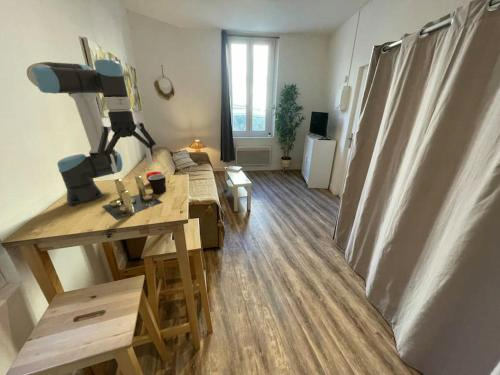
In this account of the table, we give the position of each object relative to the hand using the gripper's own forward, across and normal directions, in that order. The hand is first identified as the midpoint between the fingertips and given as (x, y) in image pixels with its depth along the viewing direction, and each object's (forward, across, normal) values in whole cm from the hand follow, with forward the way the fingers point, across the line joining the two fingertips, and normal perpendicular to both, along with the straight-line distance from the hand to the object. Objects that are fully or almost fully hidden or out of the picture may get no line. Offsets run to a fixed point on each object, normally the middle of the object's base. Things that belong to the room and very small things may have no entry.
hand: (133, 167), depth 83 cm
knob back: (+22, -2, +23) cm, 32 cm away
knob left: (+22, +9, +18) cm, 30 cm away
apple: (+24, +23, +35) cm, 48 cm away
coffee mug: (+24, +19, +21) cm, 37 cm away
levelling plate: (+24, +1, +16) cm, 29 cm away
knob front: (+22, -3, +10) cm, 25 cm away
